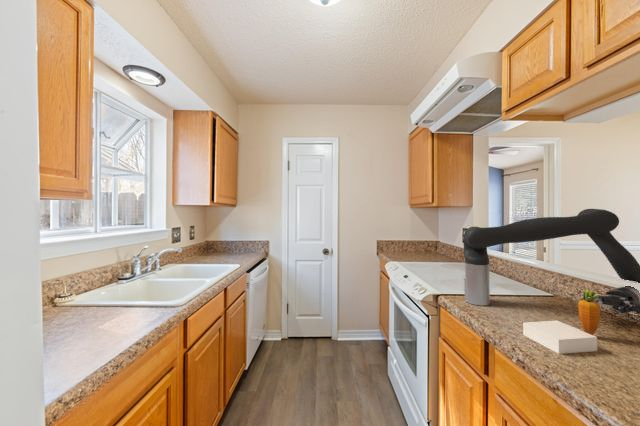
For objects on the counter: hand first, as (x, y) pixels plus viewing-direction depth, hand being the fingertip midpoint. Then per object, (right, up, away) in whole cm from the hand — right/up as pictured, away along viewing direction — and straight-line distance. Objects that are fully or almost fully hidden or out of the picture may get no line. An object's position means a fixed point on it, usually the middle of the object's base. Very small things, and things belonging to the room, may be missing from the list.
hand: (603, 306), depth 91 cm
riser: (-22, -9, -7) cm, 24 cm away
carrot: (-9, -9, -4) cm, 13 cm away
